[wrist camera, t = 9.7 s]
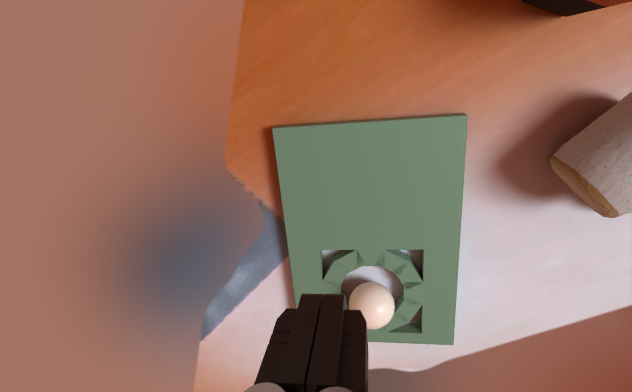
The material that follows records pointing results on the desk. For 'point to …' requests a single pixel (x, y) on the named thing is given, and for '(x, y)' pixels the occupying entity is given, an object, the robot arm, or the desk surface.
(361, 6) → the desk surface
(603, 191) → the ceramic mug
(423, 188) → the putting board
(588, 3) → the battery
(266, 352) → the robot arm
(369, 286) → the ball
